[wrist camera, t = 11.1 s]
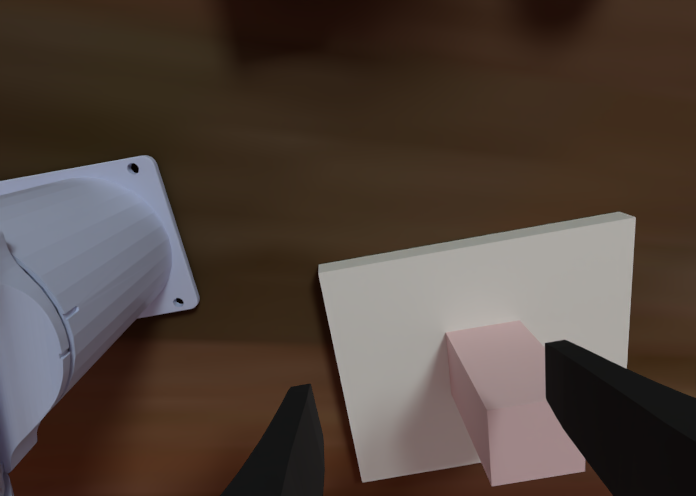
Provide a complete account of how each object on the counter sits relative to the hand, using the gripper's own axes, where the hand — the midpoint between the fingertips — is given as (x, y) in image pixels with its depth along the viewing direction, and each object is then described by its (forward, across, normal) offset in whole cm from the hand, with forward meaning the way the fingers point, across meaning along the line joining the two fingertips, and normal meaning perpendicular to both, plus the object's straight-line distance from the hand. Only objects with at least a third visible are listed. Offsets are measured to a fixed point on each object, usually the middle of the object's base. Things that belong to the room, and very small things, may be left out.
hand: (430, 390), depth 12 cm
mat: (+10, -4, +6) cm, 12 cm away
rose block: (+9, -4, +6) cm, 11 cm away
